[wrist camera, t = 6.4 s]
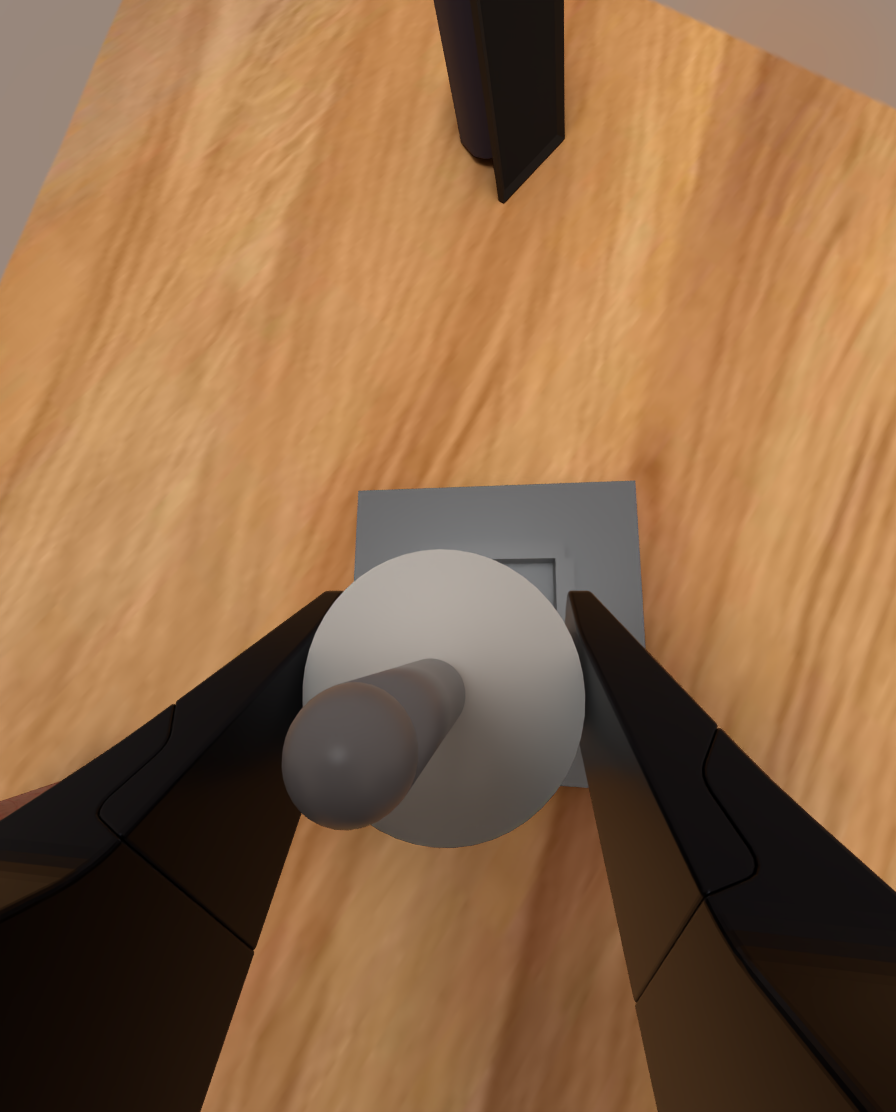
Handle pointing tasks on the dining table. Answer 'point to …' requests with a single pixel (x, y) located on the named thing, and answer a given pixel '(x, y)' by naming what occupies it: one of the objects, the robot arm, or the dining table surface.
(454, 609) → the plug
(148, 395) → the dining table surface
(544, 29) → the speaker
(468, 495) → the dock
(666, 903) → the robot arm
